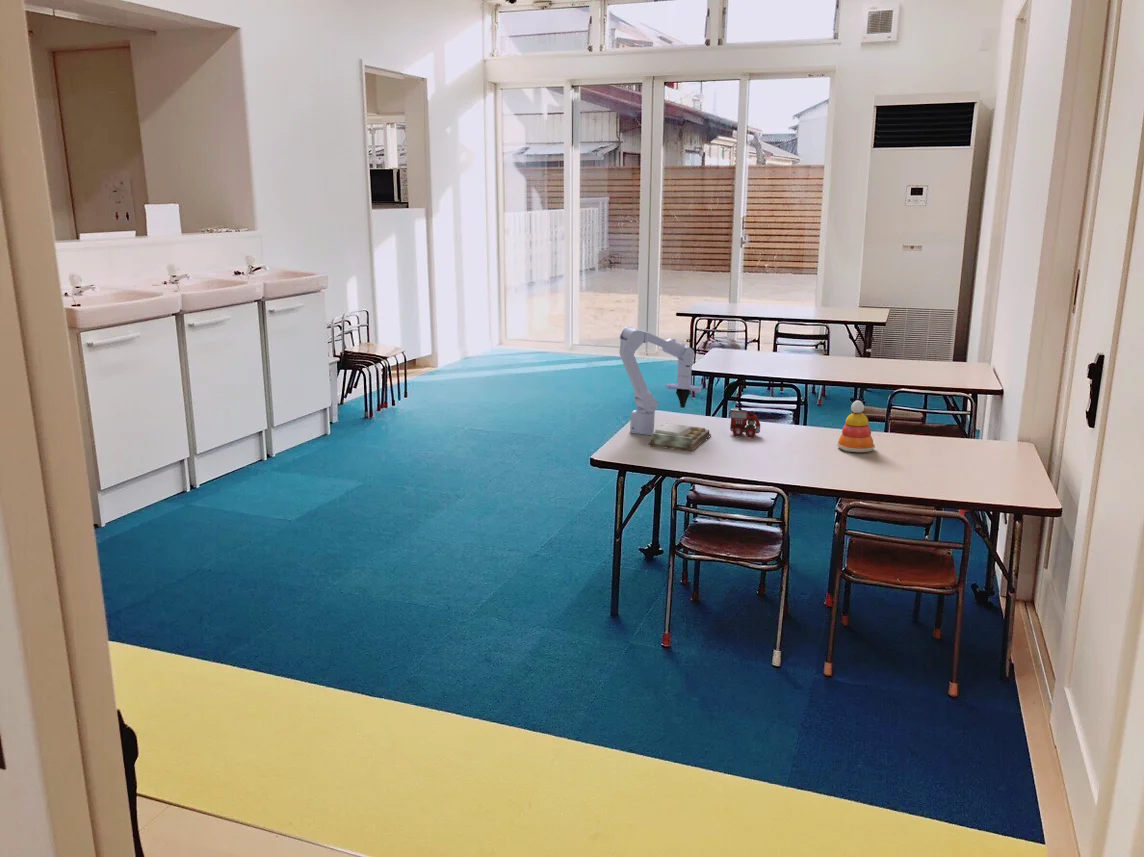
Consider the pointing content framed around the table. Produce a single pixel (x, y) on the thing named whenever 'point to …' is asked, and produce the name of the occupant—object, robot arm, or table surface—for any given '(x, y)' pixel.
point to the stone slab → (673, 429)
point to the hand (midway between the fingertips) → (682, 407)
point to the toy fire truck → (744, 423)
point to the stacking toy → (856, 431)
